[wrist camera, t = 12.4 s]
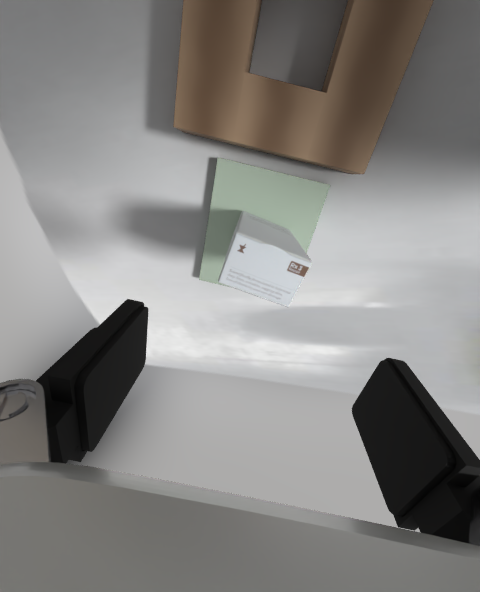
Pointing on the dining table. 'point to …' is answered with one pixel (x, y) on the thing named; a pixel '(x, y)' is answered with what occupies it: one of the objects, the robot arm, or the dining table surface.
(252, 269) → the skincare box
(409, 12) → the pocket block
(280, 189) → the mat
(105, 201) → the dining table surface
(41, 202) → the dining table surface
